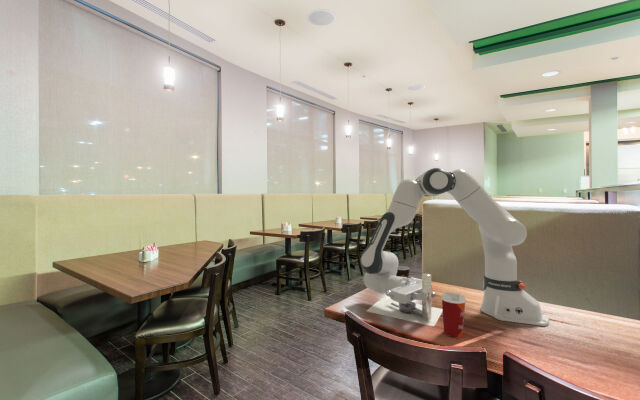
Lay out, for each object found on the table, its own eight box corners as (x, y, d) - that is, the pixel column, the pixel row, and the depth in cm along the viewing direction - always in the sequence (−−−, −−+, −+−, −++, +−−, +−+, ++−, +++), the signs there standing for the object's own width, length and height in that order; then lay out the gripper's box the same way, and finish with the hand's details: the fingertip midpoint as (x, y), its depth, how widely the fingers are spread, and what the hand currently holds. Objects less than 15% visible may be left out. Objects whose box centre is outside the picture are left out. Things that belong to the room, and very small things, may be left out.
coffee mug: (411, 286, 153) (411, 267, 153) (406, 290, 146) (406, 270, 146) (390, 282, 159) (390, 264, 159) (384, 286, 152) (384, 267, 152)
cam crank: (386, 304, 122) (386, 265, 122) (397, 301, 125) (397, 263, 125) (423, 322, 104) (423, 276, 104) (436, 319, 107) (436, 274, 107)
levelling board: (443, 312, 118) (443, 308, 118) (434, 329, 102) (434, 325, 102) (382, 300, 132) (382, 296, 132) (365, 314, 116) (365, 310, 116)
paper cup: (469, 343, 92) (469, 300, 92) (443, 341, 94) (443, 298, 93) (462, 332, 100) (462, 292, 100) (438, 330, 101) (438, 290, 101)
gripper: (382, 285, 109) (415, 294, 99) (412, 275, 122) (444, 282, 112) (382, 301, 109) (415, 312, 99) (412, 290, 122) (444, 299, 112)
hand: (431, 296), depth 105 cm, fingers open, 3 cm apart
